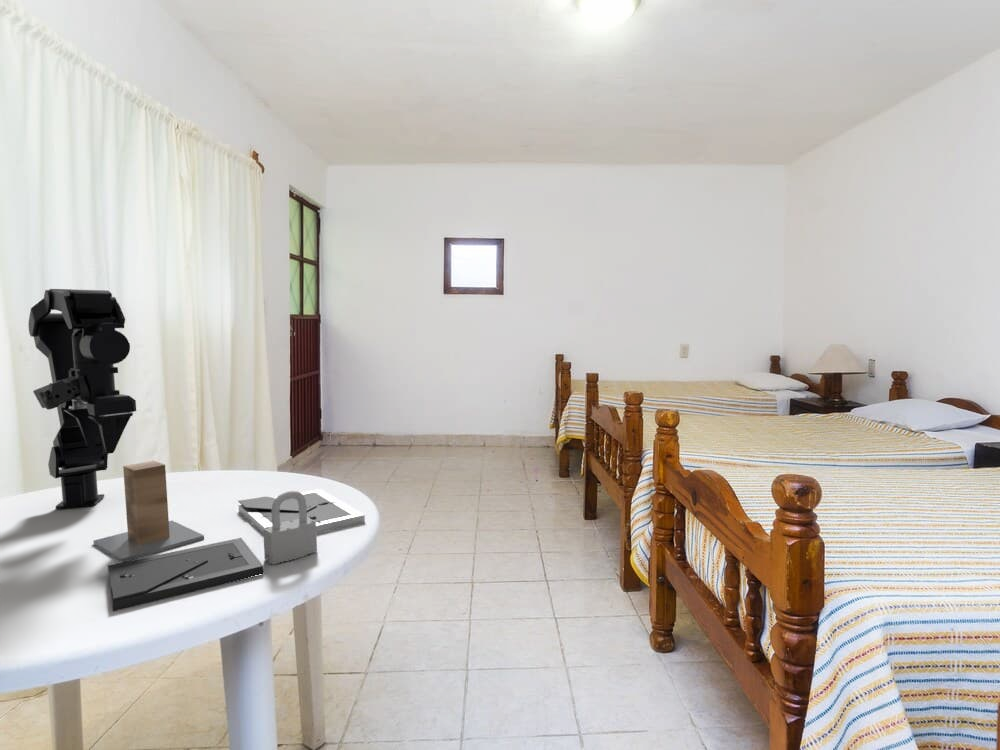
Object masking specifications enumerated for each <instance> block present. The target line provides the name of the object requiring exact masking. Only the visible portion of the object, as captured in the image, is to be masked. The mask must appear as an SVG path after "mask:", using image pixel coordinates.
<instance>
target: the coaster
mask: <svg viewBox="0 0 1000 750" xmlns="http://www.w3.org/2000/svg"><path fill="white" fill-rule="evenodd" d="M169 534H170V537H168V538H164V539H161V540H157V541H153V542H150V543H146V544H142V545H138V544H136V543H134V542H133V541H131V540H129V539H128V531H125V532H122V533H117V534H114V535H110V536H106V537H105V536H104V537H102V538H98V539H95V540H94V539H93V540H92V541H93V545H94V546H95V547H97V548H99V549H100V550H102V551H103V552H104V553H107V555H110V556H111V557H113V558H114V559H115V560H117V561H119V563H122V562H126V561H131V560H136V559H141V558H145V557H148V556H152V555H153V554H156V553H161V552H164V551H167V550H170V549H175V548H178V547H181V546H184V545H185V546H186V545H188V544H192V543H194V542H195V543H196V542H198V541H201V540H202V541H203V540H204V539H205V534H202V533H199V531H196V530H193V529H191V528H190V527H187V526H185V525H182V524H180V523H178V522H176V521H174V520H169Z"/></svg>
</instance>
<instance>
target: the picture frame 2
mask: <svg viewBox="0 0 1000 750" xmlns="http://www.w3.org/2000/svg"><path fill="white" fill-rule="evenodd" d="M301 493H302V494H303V495H304V497H305V499H306V509H307V517H308V518H310V519H312V520H314V521H316V533H317V534H320V533H319V532H321V533H325V532H324V531H326V532H330V531H334V530H337V528H338V529H342V528H347V527H351V526H355V525H359V524H363V523H366V522H365V521H366V519H365V514H364V513H362V512H360V511H359V510H357V509H355V508H353V507H351V506H350V505H348V504H347V503H346V502H343V501H342V500H339V499H337V498H336V497H334V496H333V495H331V494H330V493H327V492H325V490H323V489H320V488H319V489H315V490H308V491H303V492H301ZM277 497H278V496H276V497H271V496H260V497H254V498H245V499H241V500H238V503H239V504H238V512H239V511H240V512H241V513H242V514H243V515H244V516H245V517H246V518H245V517H244V516H243V515H242V514H241V513H240V512H239V513H240V514H241V515H242V516H243V517H244V518H245V519H247V521H248V522H250V524H252V523H253V524H254V525H255V526H256V527H257V528H258V529H259V530H260V533H261V534H262V535H263V534H264V533H263V529H264V528H265V527H269V526H272V512H271V511H272V504H273V502H274V500H275V499H276V498H277ZM279 511H280V523H282V522H286V521H290V520H296V519H299V504H298V501H297V499H294V498H292V499H287V500H285V501H283V502H282V503H281V505H280V510H279ZM253 524H252V525H253ZM254 525H253V526H254ZM255 526H254V527H255ZM256 527H255V528H256ZM257 528H256V529H257ZM333 529H334V530H333ZM259 530H258V531H259ZM329 530H330V531H329Z"/></svg>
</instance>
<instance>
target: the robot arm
mask: <svg viewBox="0 0 1000 750" xmlns="http://www.w3.org/2000/svg"><path fill="white" fill-rule="evenodd" d="M54 310H55V311H59V312H61V313H57V312H56V313H54V312H53V313H52V311H54ZM125 323H126V317H125V314H124V313H123V311H122V308H121V306H120V303H119V302H118V300H117V297H115V296H113V294H112V292H111V291H109V290H104V289H102V290H100V289H99V290H98V289H72V288H49V289H45V290H44V294H43V298H42V299H41V300H39V301H38V302H37V303H36V304H34V305H33V306H32V307H31V308H30V311H29V318H28V323H27V324H28V333H29V335H30V336H29V337H33V340H34V344H35V345H34V346H35V347H36V349H37V350H38V351H39V352H41V354H42V355H44V356H45V357H46V358H47V360H48V365H49V371H50V376H51V377H50V378H51V381H52V382H50V383H48V384H47V385H44V386H42V387H40V388H37V389H34V390H33V391H32V393H33V394H34V396H35V398H36V399H37V402H38V403H39V405H40V407H41V408H42V409H46V410H47V411H48V410H52V409H57V415H58V419H59V426H60V428H59V429H58V431H57V432H56V435H55V437H54V439H53V441H52V443H53V444H52V445H53V446H52V447H51V449H50V453H49V459H48V470H49V475H50V476H51V477H52V478H54V479H59V478H60V485H61V498H62V500H61V501H60V503H59V502H58V504H56V505H55V509H56V508H57V509H58V508H60V509H69V508H70V507H71V508H80V506H82V507H91V506H95V505H97V504H98V503H99V502H100V501H101V500H102V499H103V498H104V497H105V494H104V493H102V494H99V492H98V491H99V490H98V478H97V472H100V471H107V469H108V461H109V460H108V459H109V458H108V457H109V454H113V453H115V451H116V448H117V446H118V444H119V442H120V439H121V437H122V436H123V435H122V434H123V433H124V430H125V428H126V427H127V424H128V423H129V421H130V419H131V418H132V417H133V415H134V412H137V403H136V402H137V401H136V399H134V398H133V397H132V396H130V395H126V394H121V393H120V389H116V384H115V374H119V367H118V366H114V365H117V364H119V363H121V362H123V361H124V360H126V358H127V357H128V355H129V353H130V350H131V345H130V344H131V343H130V342H129V339H128V338H127V337H126V336H125V334H123V333H122V332H121V331H119V330H116V329H124V328H125ZM58 510H59V509H58Z"/></svg>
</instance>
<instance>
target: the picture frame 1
mask: <svg viewBox="0 0 1000 750" xmlns="http://www.w3.org/2000/svg"><path fill="white" fill-rule="evenodd" d="M107 572H108V574H107V575H108V580H109V581H108V582H109V590H110V595H111V596H110V597H111V604H112V605H111V607H112V611H113V612H115V611H116V612H117V611H121V610H125V609H129V608H133V607H137V606H141V605H145V604H149V603H153V602H157V601H161V600H166V599H169V598H173V597H178V596H182V595H186V594H190V593H194V592H198V591H203V590H206V588H207V589H210V587H211V588H215V587H218V585H219V586H223V585H226V583H227V584H229V582H231V583H234V582H233V581H235V582H238V581H237V580H239V581H242V580H241V579H243V580H245V579H244V578H247V579H249V578H248V577H251V576H255V575H259V574H263V573H264V565H263V564H262V563H261V561H260V560H259V559H258V557H257V556H256V555H255V553H254V552H253V551H252V549H250V547H249V545H247V543H246V542H245V541H244V540H243V538H242V537H237V538H233V539H229V540H223V541H219V542H214V543H208V544H205V545H204V544H203V545H200V546H195V547H190V548H185V549H181V550H175V551H170V552H166V553H161V554H156V555H149V556H145V557H140V558H137V559H133V560H130V561H126V562H118V563H112V564H109V565H107ZM263 575H264V574H263ZM259 576H260V575H259ZM255 577H256V576H255ZM251 578H252V577H251ZM222 584H223V585H222Z"/></svg>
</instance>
